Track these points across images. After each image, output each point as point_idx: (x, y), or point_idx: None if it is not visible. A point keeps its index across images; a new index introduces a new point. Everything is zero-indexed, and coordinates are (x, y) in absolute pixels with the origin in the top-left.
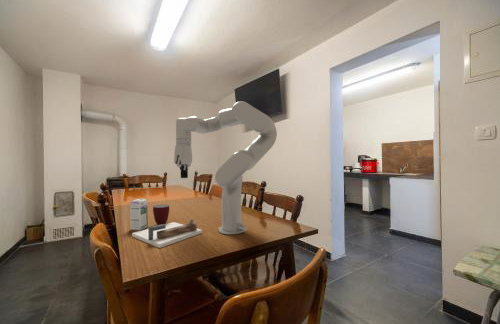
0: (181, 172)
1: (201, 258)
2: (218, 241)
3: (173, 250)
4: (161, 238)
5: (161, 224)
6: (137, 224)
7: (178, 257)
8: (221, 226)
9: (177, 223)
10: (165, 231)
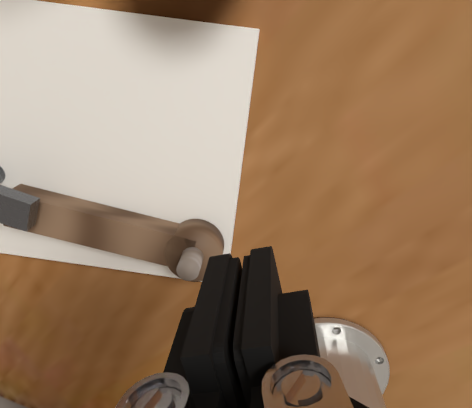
0: (170, 364)
1: (49, 405)
2: None
3: (26, 301)
4: None
5: (17, 203)
6: None
7: (6, 349)
8: (328, 326)
9: (246, 81)
10: (34, 227)
